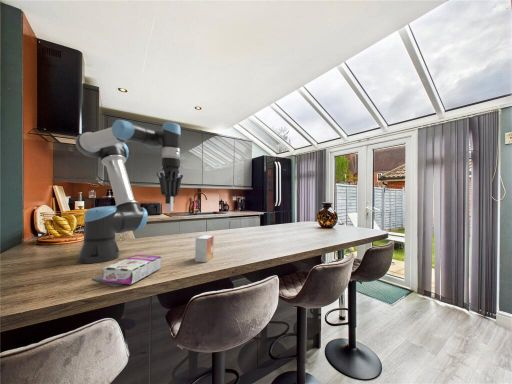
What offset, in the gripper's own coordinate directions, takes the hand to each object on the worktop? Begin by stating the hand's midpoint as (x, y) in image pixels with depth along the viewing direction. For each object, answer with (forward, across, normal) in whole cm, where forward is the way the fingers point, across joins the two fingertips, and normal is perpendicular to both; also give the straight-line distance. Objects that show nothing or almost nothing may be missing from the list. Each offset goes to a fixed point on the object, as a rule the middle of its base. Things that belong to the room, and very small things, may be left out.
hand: (169, 210), depth 96 cm
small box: (+23, +10, -12) cm, 28 cm away
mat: (+22, -20, 0) cm, 30 cm away
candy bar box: (+20, -10, -1) cm, 22 cm away
